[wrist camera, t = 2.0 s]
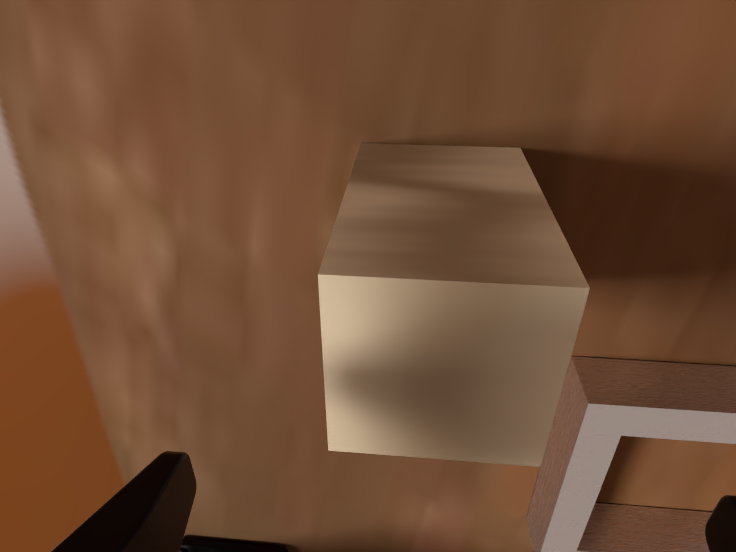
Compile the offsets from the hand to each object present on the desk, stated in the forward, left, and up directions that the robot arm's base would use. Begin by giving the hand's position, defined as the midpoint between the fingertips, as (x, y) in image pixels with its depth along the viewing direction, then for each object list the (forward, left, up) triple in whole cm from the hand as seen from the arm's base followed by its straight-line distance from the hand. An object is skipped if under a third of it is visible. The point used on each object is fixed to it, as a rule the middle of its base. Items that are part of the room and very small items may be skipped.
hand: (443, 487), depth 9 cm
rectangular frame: (+11, -11, -10) cm, 19 cm away
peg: (0, 0, -11) cm, 11 cm away
